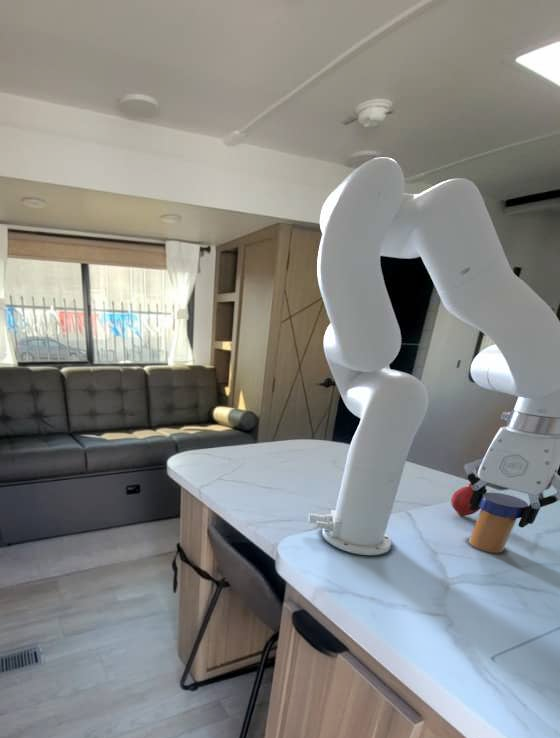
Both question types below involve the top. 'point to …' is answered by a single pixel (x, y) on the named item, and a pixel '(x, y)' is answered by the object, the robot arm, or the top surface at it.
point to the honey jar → (491, 532)
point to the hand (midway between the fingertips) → (498, 516)
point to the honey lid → (502, 505)
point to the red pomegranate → (463, 501)
